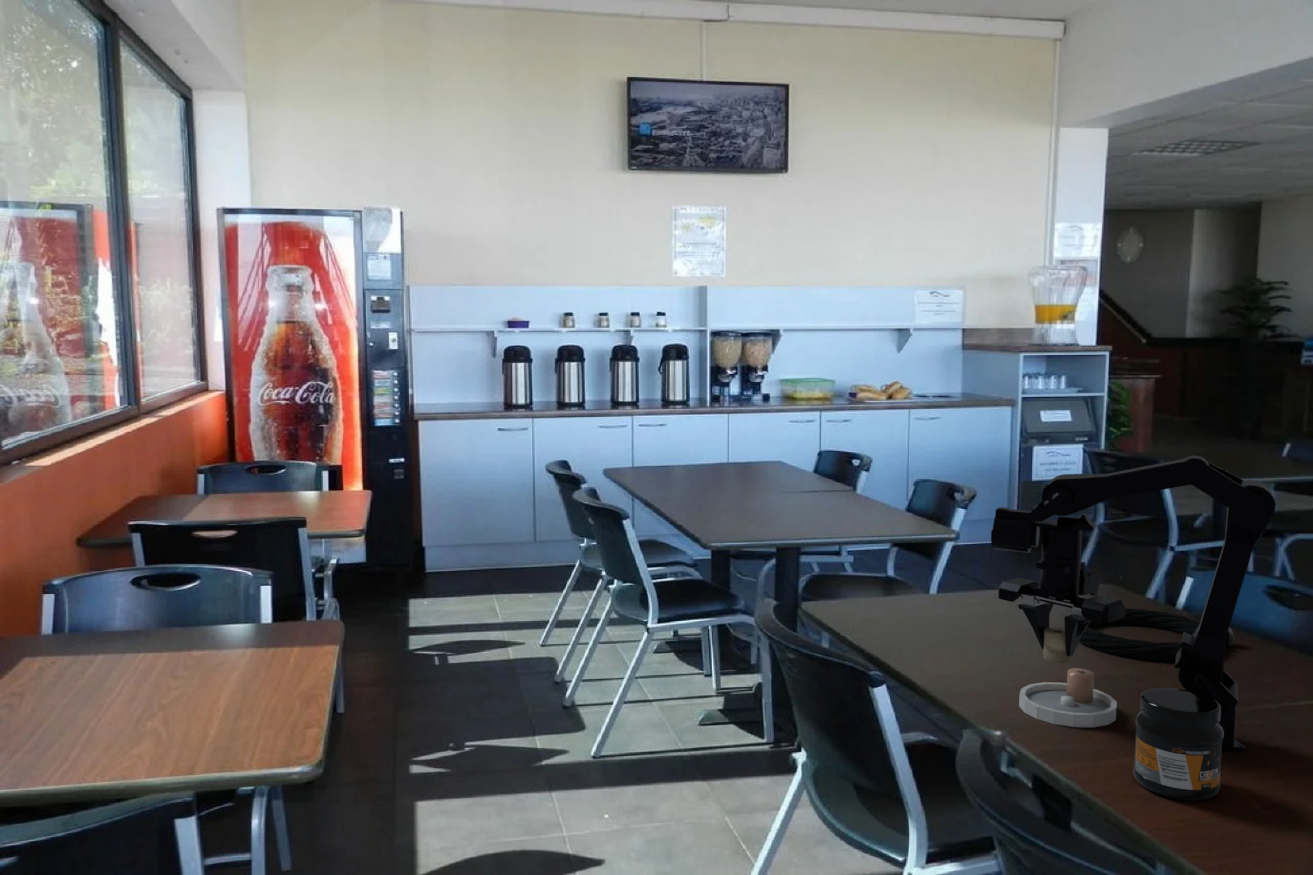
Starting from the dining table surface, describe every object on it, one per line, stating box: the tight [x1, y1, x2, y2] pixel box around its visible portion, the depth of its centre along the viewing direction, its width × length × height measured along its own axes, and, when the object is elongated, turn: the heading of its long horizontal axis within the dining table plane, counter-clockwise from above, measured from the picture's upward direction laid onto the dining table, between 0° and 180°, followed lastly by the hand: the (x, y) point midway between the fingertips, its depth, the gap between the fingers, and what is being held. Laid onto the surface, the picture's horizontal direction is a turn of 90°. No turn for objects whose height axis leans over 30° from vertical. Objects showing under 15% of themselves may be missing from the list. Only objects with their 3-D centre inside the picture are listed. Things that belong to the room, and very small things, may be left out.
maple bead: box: [1042, 627, 1072, 664], centre depth 160 cm, size 4×4×5 cm
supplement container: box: [1132, 687, 1224, 801], centre depth 136 cm, size 10×10×12 cm
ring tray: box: [1018, 681, 1118, 728], centre depth 163 cm, size 14×14×2 cm
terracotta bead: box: [1066, 667, 1095, 703], centre depth 165 cm, size 4×4×4 cm
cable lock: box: [1079, 607, 1235, 662], centre depth 200 cm, size 28×4×30 cm
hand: (1057, 652), depth 160 cm, fingers closed on maple bead, 4 cm apart
